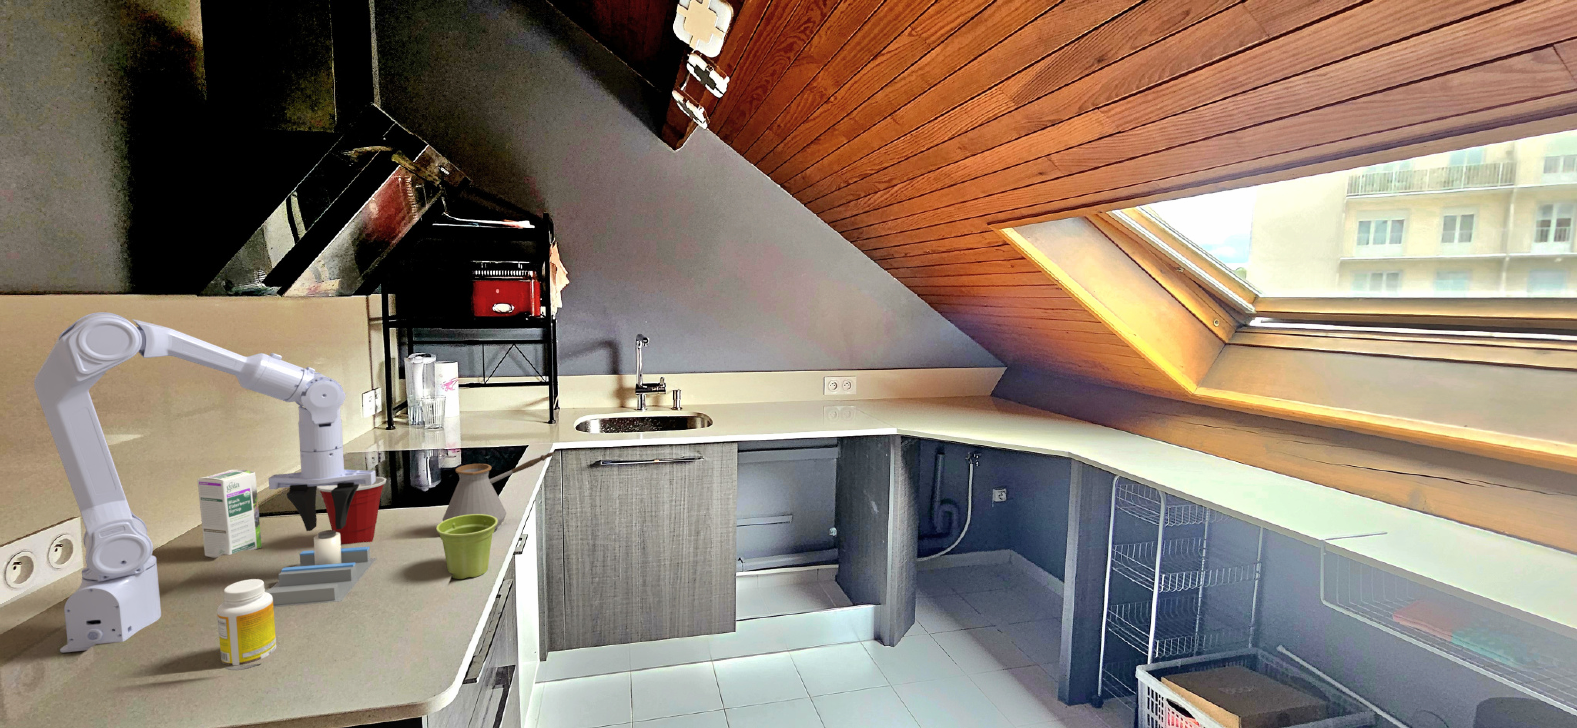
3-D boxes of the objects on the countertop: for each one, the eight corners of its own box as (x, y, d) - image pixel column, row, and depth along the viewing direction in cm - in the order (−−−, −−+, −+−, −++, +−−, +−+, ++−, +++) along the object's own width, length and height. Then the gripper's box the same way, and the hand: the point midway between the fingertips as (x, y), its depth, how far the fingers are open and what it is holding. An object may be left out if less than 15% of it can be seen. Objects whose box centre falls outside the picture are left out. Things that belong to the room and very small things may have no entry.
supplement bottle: (286, 647, 88) (282, 575, 87) (257, 671, 82) (252, 595, 81) (242, 648, 87) (236, 576, 86) (209, 673, 82) (203, 596, 80)
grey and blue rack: (341, 607, 99) (340, 586, 98) (248, 615, 96) (246, 594, 95) (377, 563, 114) (376, 545, 114) (298, 568, 111) (297, 550, 110)
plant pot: (510, 564, 115) (509, 517, 114) (471, 588, 106) (469, 537, 105) (466, 557, 118) (465, 511, 117) (424, 579, 109) (422, 529, 108)
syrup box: (230, 560, 113) (223, 479, 112) (203, 556, 115) (196, 476, 113) (262, 547, 119) (257, 470, 117) (236, 544, 120) (230, 468, 118)
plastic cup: (396, 529, 129) (393, 470, 128) (380, 550, 119) (377, 487, 118) (332, 533, 126) (329, 474, 125) (310, 556, 116) (307, 491, 114)
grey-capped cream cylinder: (336, 574, 107) (335, 535, 106) (311, 575, 106) (309, 537, 105) (345, 565, 111) (343, 527, 110) (320, 566, 110) (318, 529, 109)
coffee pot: (440, 544, 123) (437, 467, 121) (445, 523, 133) (443, 452, 131) (559, 530, 131) (558, 458, 129) (555, 512, 142) (554, 445, 140)
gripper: (380, 440, 112) (383, 516, 113) (281, 443, 108) (286, 522, 110) (365, 450, 105) (369, 531, 107) (259, 454, 101) (265, 537, 103)
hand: (326, 527), depth 108 cm, fingers open, 4 cm apart
